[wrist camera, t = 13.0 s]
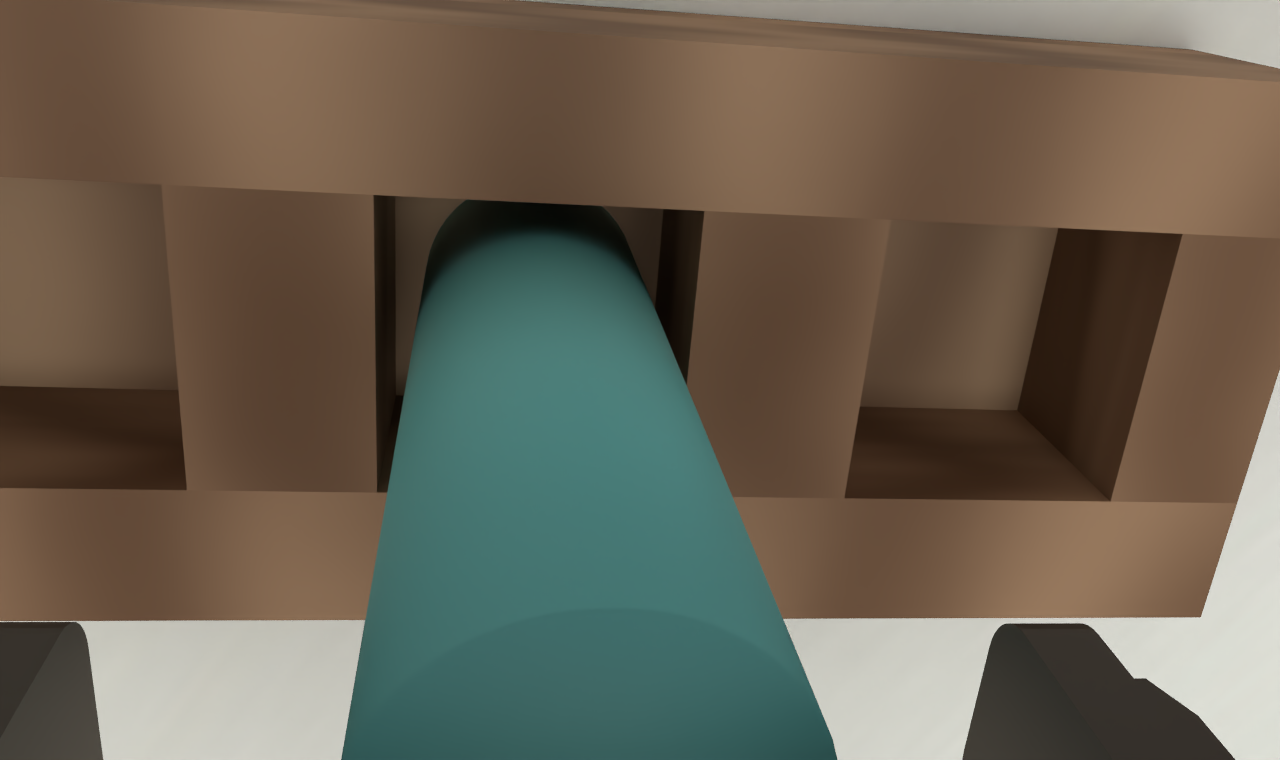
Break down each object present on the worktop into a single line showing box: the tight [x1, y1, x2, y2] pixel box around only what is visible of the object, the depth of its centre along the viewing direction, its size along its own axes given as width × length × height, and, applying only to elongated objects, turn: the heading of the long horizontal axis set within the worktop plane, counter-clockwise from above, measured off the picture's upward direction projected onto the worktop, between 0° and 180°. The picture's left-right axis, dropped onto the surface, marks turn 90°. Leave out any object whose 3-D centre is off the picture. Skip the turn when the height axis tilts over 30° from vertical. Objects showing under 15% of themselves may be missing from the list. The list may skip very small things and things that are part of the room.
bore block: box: [0, 0, 1280, 621], centre depth 20 cm, size 26×10×5 cm, turn 86°
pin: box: [341, 199, 837, 760], centre depth 15 cm, size 4×4×14 cm
